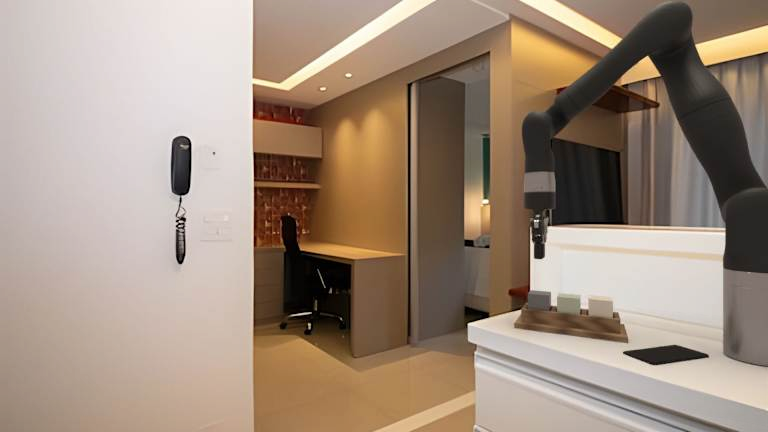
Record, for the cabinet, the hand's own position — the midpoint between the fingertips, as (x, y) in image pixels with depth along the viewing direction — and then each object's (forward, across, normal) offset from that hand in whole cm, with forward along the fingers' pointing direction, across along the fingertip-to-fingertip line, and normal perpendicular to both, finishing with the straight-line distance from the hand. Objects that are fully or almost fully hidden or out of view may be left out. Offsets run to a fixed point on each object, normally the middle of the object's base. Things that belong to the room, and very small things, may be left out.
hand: (539, 258), depth 99 cm
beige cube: (+14, 0, -14) cm, 19 cm away
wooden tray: (+17, 0, -7) cm, 18 cm away
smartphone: (+18, -11, -25) cm, 32 cm away
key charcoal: (+14, 0, 0) cm, 14 cm away
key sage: (+14, 0, -7) cm, 15 cm away
